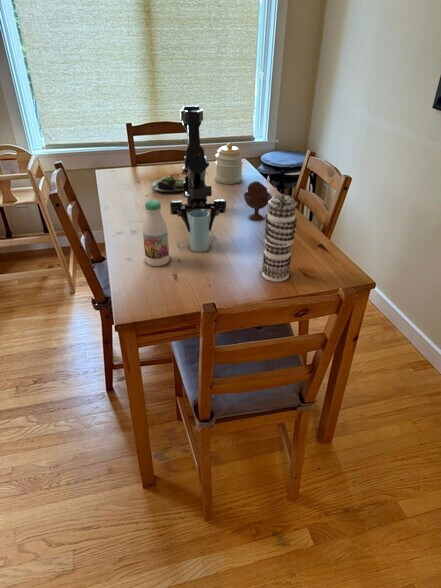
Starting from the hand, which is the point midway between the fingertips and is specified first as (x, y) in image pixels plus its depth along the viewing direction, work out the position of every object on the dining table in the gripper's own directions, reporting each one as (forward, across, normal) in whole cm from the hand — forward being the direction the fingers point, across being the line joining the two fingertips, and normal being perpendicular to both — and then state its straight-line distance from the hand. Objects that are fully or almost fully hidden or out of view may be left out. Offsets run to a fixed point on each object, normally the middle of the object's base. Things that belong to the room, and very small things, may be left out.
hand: (199, 231), depth 136 cm
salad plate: (-38, -10, +48) cm, 62 cm away
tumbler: (+4, 0, +6) cm, 7 cm away
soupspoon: (-51, 0, +61) cm, 80 cm away
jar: (-45, +19, +55) cm, 74 cm away
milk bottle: (+10, -14, 0) cm, 17 cm away
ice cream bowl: (-12, +24, +22) cm, 35 cm away
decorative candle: (+18, +22, -8) cm, 30 cm away
